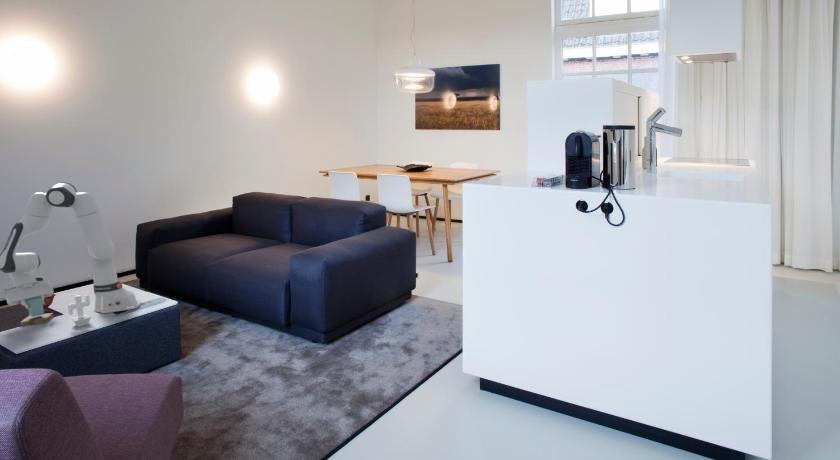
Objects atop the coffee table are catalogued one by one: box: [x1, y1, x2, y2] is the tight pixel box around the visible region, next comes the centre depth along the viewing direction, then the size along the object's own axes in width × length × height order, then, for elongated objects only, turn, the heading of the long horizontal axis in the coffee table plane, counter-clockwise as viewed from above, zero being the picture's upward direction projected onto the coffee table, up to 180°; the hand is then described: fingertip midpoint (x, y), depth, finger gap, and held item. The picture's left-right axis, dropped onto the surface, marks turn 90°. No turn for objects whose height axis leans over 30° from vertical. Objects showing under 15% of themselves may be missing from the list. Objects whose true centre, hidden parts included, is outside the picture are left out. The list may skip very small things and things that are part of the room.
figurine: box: [67, 294, 92, 328], centre depth 279 cm, size 7×9×15 cm
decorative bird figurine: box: [18, 292, 56, 313], centre depth 300 cm, size 3×18×10 cm, turn 135°
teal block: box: [26, 298, 45, 317], centre depth 286 cm, size 5×5×8 cm
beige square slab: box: [20, 312, 55, 327], centre depth 287 cm, size 11×11×2 cm
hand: (35, 306), depth 286 cm, fingers closed on teal block, 5 cm apart
